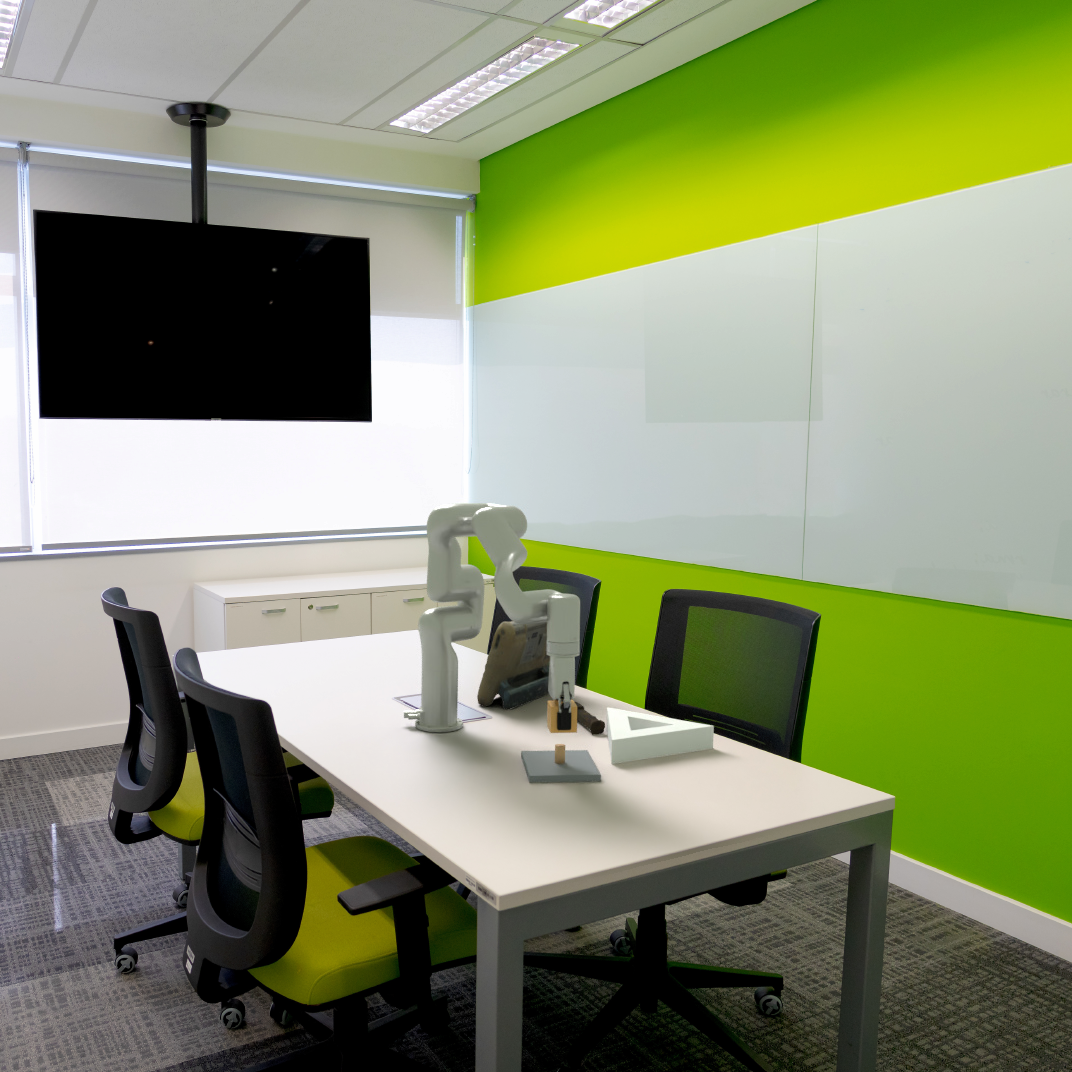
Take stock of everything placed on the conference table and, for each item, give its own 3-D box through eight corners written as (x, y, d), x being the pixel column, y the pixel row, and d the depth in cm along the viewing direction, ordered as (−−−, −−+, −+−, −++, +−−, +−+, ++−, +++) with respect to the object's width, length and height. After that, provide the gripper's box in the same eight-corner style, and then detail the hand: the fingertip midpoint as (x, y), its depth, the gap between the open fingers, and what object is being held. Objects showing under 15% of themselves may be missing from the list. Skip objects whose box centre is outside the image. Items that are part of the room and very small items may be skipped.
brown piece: (605, 735, 256) (606, 717, 255) (590, 736, 254) (591, 718, 254) (581, 716, 274) (582, 699, 273) (567, 716, 273) (568, 700, 272)
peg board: (529, 782, 217) (530, 758, 216) (521, 757, 235) (521, 734, 234) (600, 781, 219) (601, 757, 218) (587, 756, 237) (587, 733, 236)
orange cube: (550, 733, 222) (550, 706, 222) (547, 725, 228) (547, 700, 228) (576, 732, 223) (577, 706, 223) (572, 725, 229) (573, 700, 228)
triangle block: (606, 730, 261) (607, 707, 261) (704, 733, 260) (705, 710, 260) (611, 766, 231) (612, 740, 231) (722, 769, 230) (723, 743, 230)
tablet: (522, 683, 310) (524, 604, 308) (563, 688, 304) (565, 608, 302) (473, 706, 280) (475, 619, 278) (517, 712, 275) (519, 624, 273)
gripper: (542, 641, 232) (541, 716, 234) (551, 655, 215) (550, 736, 217) (573, 641, 233) (572, 715, 235) (585, 655, 216) (584, 735, 217)
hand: (561, 725), depth 226 cm, fingers closed on orange cube, 5 cm apart
